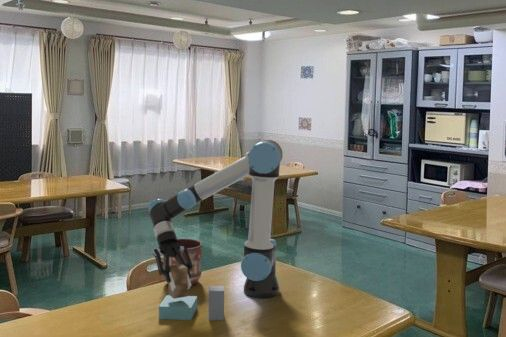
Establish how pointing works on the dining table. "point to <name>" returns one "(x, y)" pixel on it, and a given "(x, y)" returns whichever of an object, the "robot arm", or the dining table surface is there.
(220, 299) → the slate block
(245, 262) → the robot arm
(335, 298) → the dining table surface
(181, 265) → the walnut block
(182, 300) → the teal base block
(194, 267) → the pottery
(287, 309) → the dining table surface
